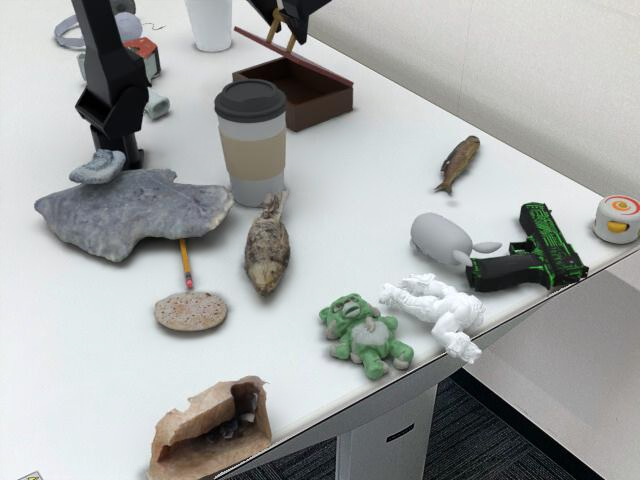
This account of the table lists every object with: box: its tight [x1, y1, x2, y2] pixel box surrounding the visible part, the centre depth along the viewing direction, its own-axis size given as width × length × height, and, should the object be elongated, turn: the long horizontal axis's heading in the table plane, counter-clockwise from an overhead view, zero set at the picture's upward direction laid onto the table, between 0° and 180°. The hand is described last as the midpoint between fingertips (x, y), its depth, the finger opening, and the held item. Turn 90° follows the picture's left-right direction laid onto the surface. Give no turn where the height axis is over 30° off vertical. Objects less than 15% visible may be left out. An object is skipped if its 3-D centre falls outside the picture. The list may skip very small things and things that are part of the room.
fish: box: [433, 134, 481, 194], centre depth 107 cm, size 17×4×2 cm, turn 160°
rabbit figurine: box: [409, 212, 503, 267], centre depth 90 cm, size 6×5×12 cm
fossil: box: [68, 149, 126, 184], centre depth 94 cm, size 8×4×5 cm
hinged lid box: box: [231, 56, 354, 133], centre depth 122 cm, size 12×17×4 cm
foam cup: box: [183, 0, 233, 53], centre depth 135 cm, size 10×9×13 cm
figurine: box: [378, 272, 486, 366], centre depth 82 cm, size 10×5×12 cm
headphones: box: [53, 0, 166, 48], centre depth 140 cm, size 17×6×20 cm
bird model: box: [243, 189, 291, 298], centre depth 91 cm, size 21×6×5 cm, turn 3°
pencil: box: [179, 238, 193, 288], centre depth 94 cm, size 19×1×1 cm, turn 15°
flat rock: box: [33, 167, 235, 263], centre depth 95 cm, size 18×5×25 cm
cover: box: [233, 7, 355, 88], centre depth 117 cm, size 12×17×6 cm
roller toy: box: [592, 194, 640, 245], centre depth 95 cm, size 4×6×6 cm
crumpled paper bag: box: [145, 375, 273, 480], centre depth 69 cm, size 6×12×8 cm, turn 129°
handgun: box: [464, 201, 590, 294], centre depth 92 cm, size 16×3×15 cm
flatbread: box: [154, 291, 228, 332], centre depth 84 cm, size 8×8×1 cm
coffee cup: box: [213, 79, 287, 208], centre depth 98 cm, size 9×9×15 cm
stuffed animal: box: [318, 292, 415, 380], centre depth 80 cm, size 8×12×4 cm
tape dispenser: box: [75, 36, 171, 119], centre depth 124 cm, size 18×5×20 cm
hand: (290, 37), depth 116 cm, fingers closed on cover, 6 cm apart
